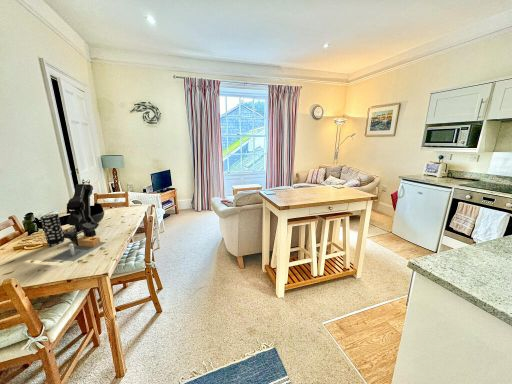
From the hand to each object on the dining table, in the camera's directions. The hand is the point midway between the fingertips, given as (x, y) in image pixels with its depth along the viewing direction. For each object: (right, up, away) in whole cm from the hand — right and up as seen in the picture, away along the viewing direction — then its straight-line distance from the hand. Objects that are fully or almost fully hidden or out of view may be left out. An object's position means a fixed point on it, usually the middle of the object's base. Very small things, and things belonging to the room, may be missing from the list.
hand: (84, 241), depth 136 cm
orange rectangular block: (+4, -1, 0) cm, 4 cm away
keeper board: (+3, -5, -7) cm, 9 cm away
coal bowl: (-22, +6, +33) cm, 40 cm away
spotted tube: (-20, -2, +3) cm, 21 cm away
